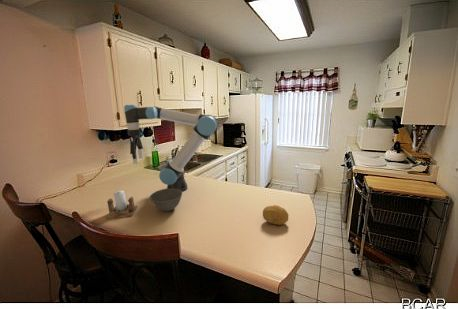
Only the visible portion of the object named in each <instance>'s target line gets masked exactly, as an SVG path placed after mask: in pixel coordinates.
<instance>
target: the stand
mask: <svg viewBox="0 0 458 309" xmlns="http://www.w3.org/2000/svg"><path fill="white" fill-rule="evenodd" d="M127 200H128V204H127V203H126V204H127V210H126V211H117V209H116V206H115V207H114V200H113V198H109V199H107V208H108V212H109V213H108V214H107V215H106V216H105V219H106V220H109V219H118V218H119V219H121V218H131V217H133V215H134V213H135V212H136V210H137V209H138V205H135V201H134V197H133V196H130V197H129V198H128V199H127Z"/></svg>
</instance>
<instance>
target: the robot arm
mask: <svg viewBox="0 0 458 309" xmlns="http://www.w3.org/2000/svg"><path fill="white" fill-rule="evenodd" d="M123 109H124V111H123V112H124V115H125V122H126V124H125V126H126V128H127V135H128V136H130V137H131V138H129V142H130V144H129V145H130V146H129V147H130V148H129V150H130V151H129V152H130V155H131V157H132V163H133V165H135V164H139V159H144V154H143V149H144V147H143V143H142V139H141V136H140V135H141V134H142V133H141V132H142V131H141V126H140V120H154V119H157V120H158V119H159V120H165V121H170V122H175V123H179V124H186V125H189V126H194V127H193V128H192V130H193V132H192V133H191V135H190V136H189V137H188V139H187V140H186V142H185V143H184V144H183V146H181V148H180V150H179V151H178V152H177V154H176V155H175V156H174V158H172V159H166V164H165V166H164V167H163V169H161V170H160V172H159V175H158V177H159V180H160V181H161V182H162V184H164V185H166V189H169V188H174V189H179V190H181V191H182V193H183V192H185V191H186V190H188V183H187V181H186V179H185V170H184V168H185V166H186V165H187V164H188V162H189V161H190V160H191V158H192V157H193V155H194V154H195V153H196V152H197V151H198V149H199V148H200V147H201V145H202V144H203V143H204V141H208V140H209V139H210V137H211V136H212V135H213V134H214V133H215V132H216V129H217V128H218V125H219V124H218V123H219V122H218V119H217V117H215V116H214V115H212V114H202V113H199V114H193V113H189V112H183V111H178V110H173V109H168V108H163V107H158V106H143V107H138V106H137V104H125V105H124V106H123Z"/></svg>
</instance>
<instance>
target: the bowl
mask: <svg viewBox="0 0 458 309" xmlns="http://www.w3.org/2000/svg"><path fill="white" fill-rule="evenodd" d="M182 195H183V192H182V191H181V190H179V189H174V188H169V189H167V188H163V189H159V190H157V191H154V192H153V193H151V194H150V196H149V200H150V201H151V203H152V204H153V205H154V206H155V208H157V209H159V210H160V211H162V212H171V211H173V210H174V209H176V208H177V206H179V204H180V201H181V199H182Z"/></svg>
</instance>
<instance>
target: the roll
mask: <svg viewBox="0 0 458 309" xmlns="http://www.w3.org/2000/svg"><path fill="white" fill-rule="evenodd" d="M125 193H126V191H125V190H118V191H115V192H114V193H113V197H114V202H115V207H116V209H117V211H126V210H127V200H126V194H125Z"/></svg>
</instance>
